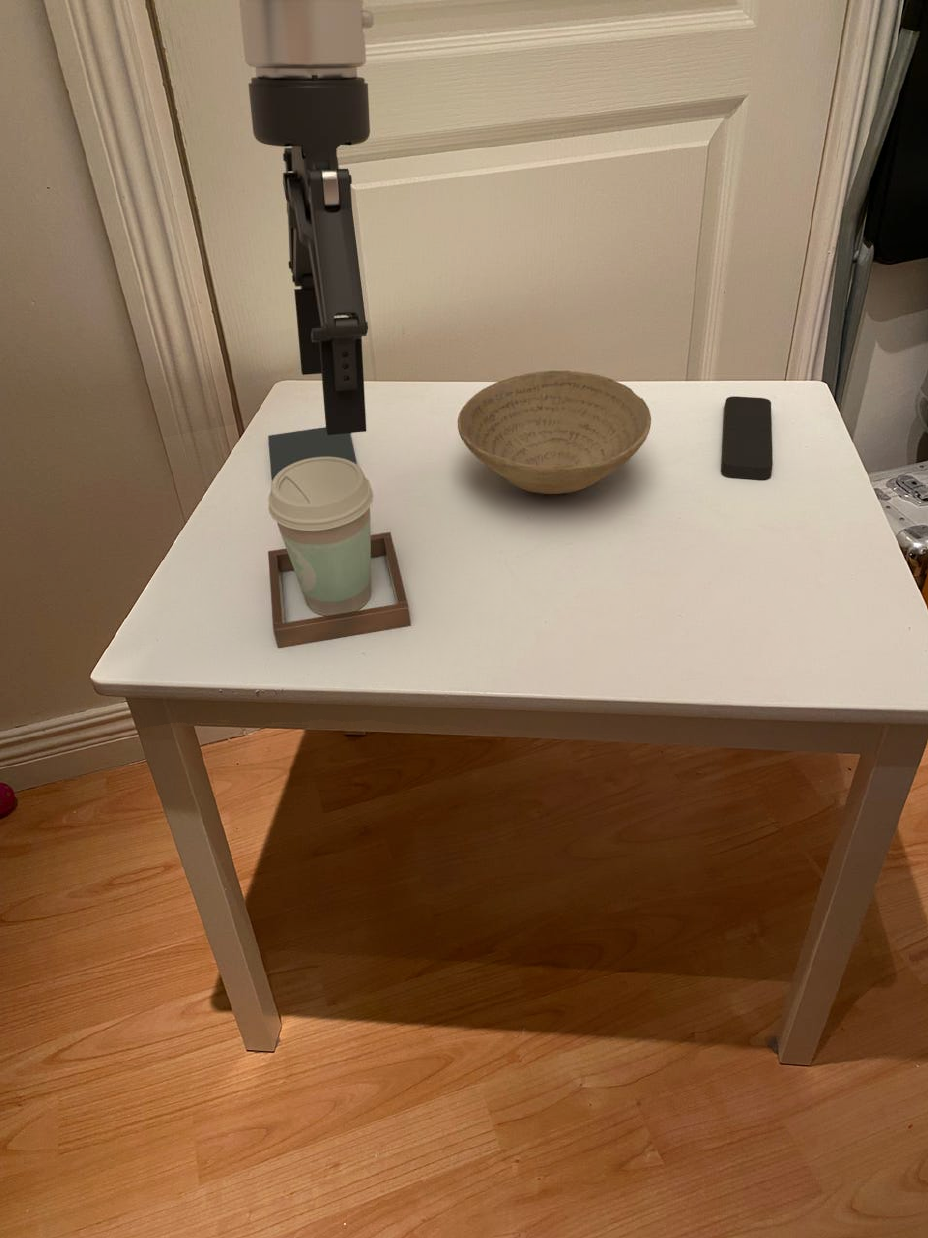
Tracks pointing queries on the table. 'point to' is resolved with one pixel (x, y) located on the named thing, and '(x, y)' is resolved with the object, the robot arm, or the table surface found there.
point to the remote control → (747, 438)
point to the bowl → (554, 429)
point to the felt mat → (307, 447)
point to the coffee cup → (326, 531)
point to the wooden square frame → (344, 621)
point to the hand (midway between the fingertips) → (331, 400)
